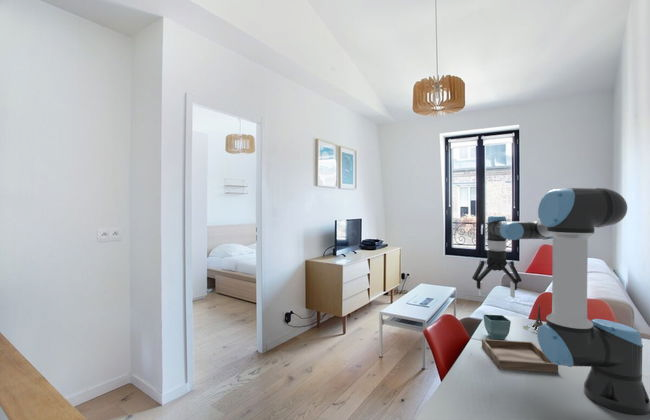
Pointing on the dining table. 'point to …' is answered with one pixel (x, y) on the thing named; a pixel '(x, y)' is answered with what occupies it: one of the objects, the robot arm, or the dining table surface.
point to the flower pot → (497, 326)
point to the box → (518, 356)
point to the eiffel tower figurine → (536, 321)
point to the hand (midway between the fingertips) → (496, 296)
